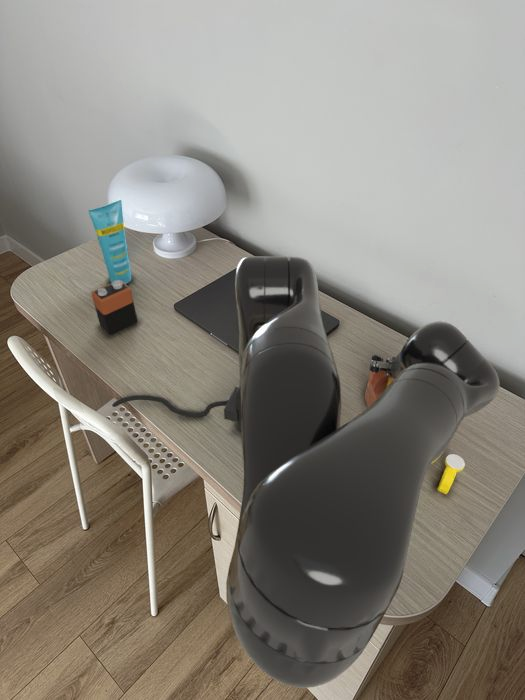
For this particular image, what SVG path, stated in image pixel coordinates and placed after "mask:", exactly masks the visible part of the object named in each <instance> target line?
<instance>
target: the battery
mask: <svg viewBox="0 0 525 700" xmlns="http://www.w3.org/2000/svg"><path fill="white" fill-rule="evenodd" d="M91 298H92V301H93V304H94V305H93V306H94V309H95V312H96V315H97V318H98V322H99V326H100V327H101V328H102V330H103V331H105V332H106V333H107V334H108V335H109V336H112V335H114V334H117V333H119V332H120V331H123V330H125V329H127V328H129V327H132V326H133V325H135V324H137V323H138V317H137V316H138V315H137V312H136V307H135V302H134V298H133V294H132V289H131V288H130V287H129V285H127V284H125V283H123V282H122V281H121V280H117V281H114V282H113V283H111V282H110V283H109V284H106V285H104V286H102V287H100V288H97V289H95V290H93V291H91Z"/></svg>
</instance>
